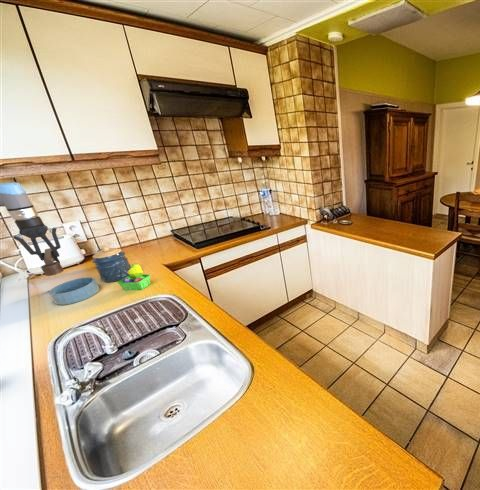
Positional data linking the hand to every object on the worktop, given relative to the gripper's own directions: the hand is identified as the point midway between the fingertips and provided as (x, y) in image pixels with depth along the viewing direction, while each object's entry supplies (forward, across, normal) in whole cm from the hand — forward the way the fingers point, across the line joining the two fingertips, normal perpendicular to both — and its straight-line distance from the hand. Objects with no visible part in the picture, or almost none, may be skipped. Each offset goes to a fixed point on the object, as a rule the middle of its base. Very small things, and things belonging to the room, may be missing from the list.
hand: (54, 264), depth 128 cm
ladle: (0, 0, -4) cm, 4 cm away
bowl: (+14, +3, -13) cm, 20 cm away
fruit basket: (+15, +24, -27) cm, 39 cm away
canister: (+15, +19, -4) cm, 24 cm away
